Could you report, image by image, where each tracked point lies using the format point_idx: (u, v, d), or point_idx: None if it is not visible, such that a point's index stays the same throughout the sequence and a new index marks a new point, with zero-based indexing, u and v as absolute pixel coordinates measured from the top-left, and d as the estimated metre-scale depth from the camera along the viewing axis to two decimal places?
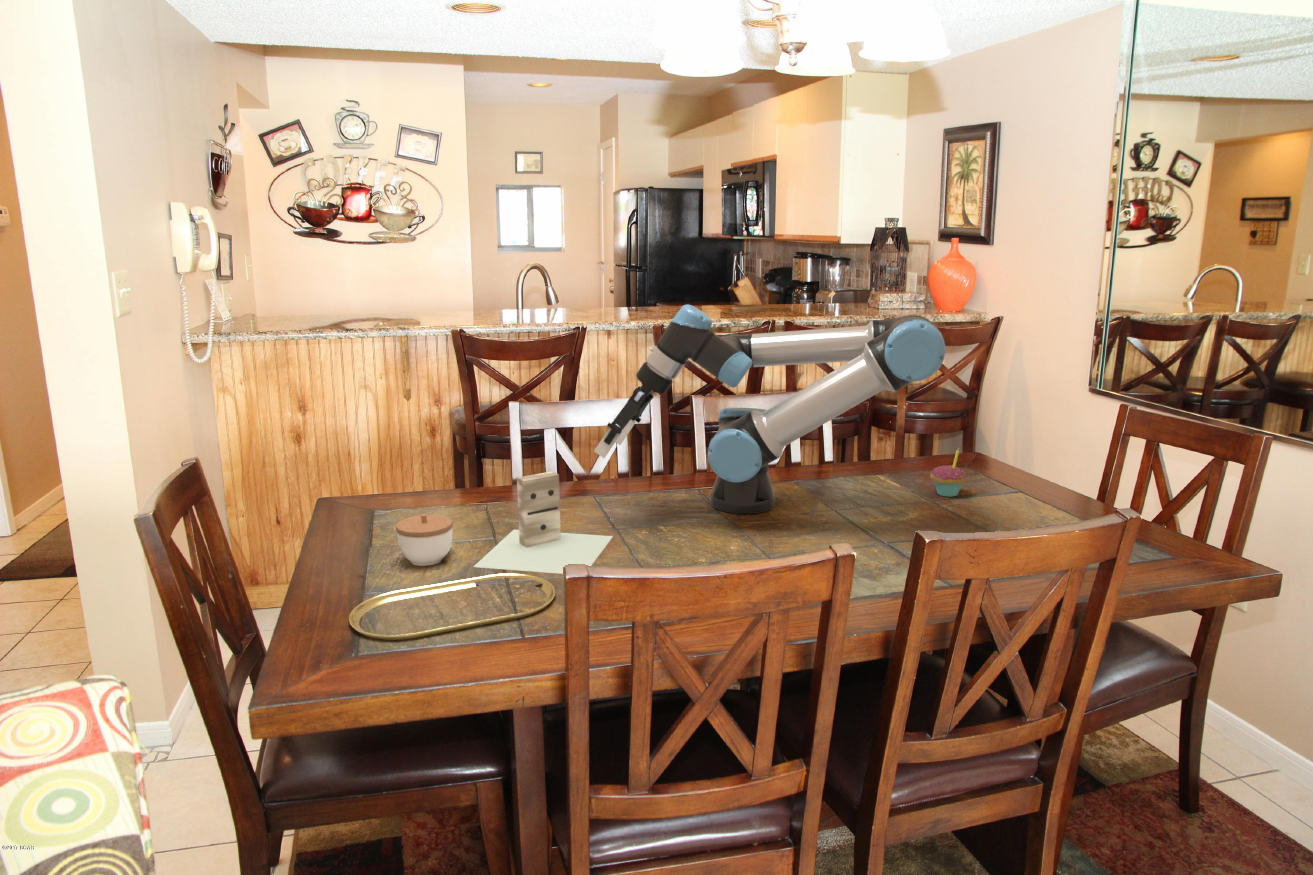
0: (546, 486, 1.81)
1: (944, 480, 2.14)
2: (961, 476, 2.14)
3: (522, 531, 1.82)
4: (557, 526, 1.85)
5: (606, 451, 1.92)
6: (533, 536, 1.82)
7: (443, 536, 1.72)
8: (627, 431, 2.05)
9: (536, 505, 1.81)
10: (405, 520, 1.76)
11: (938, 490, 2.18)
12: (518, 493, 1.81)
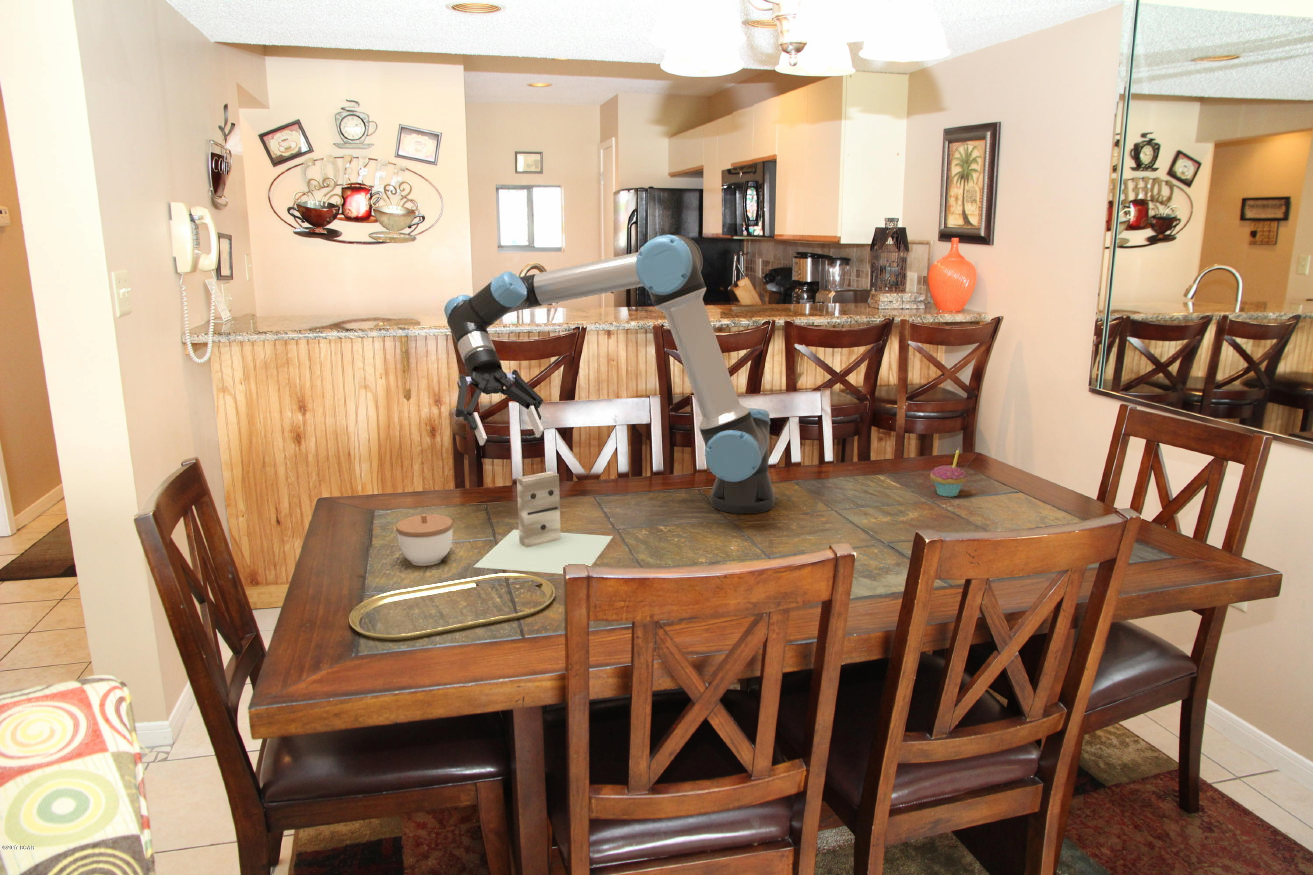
0: (546, 486, 1.81)
1: (944, 480, 2.14)
2: (961, 475, 2.14)
3: (522, 531, 1.82)
4: (557, 526, 1.85)
5: (480, 432, 1.85)
6: (533, 536, 1.82)
7: (443, 536, 1.72)
8: (534, 416, 1.94)
9: (536, 505, 1.81)
10: (405, 520, 1.76)
11: (938, 490, 2.18)
12: (518, 493, 1.81)
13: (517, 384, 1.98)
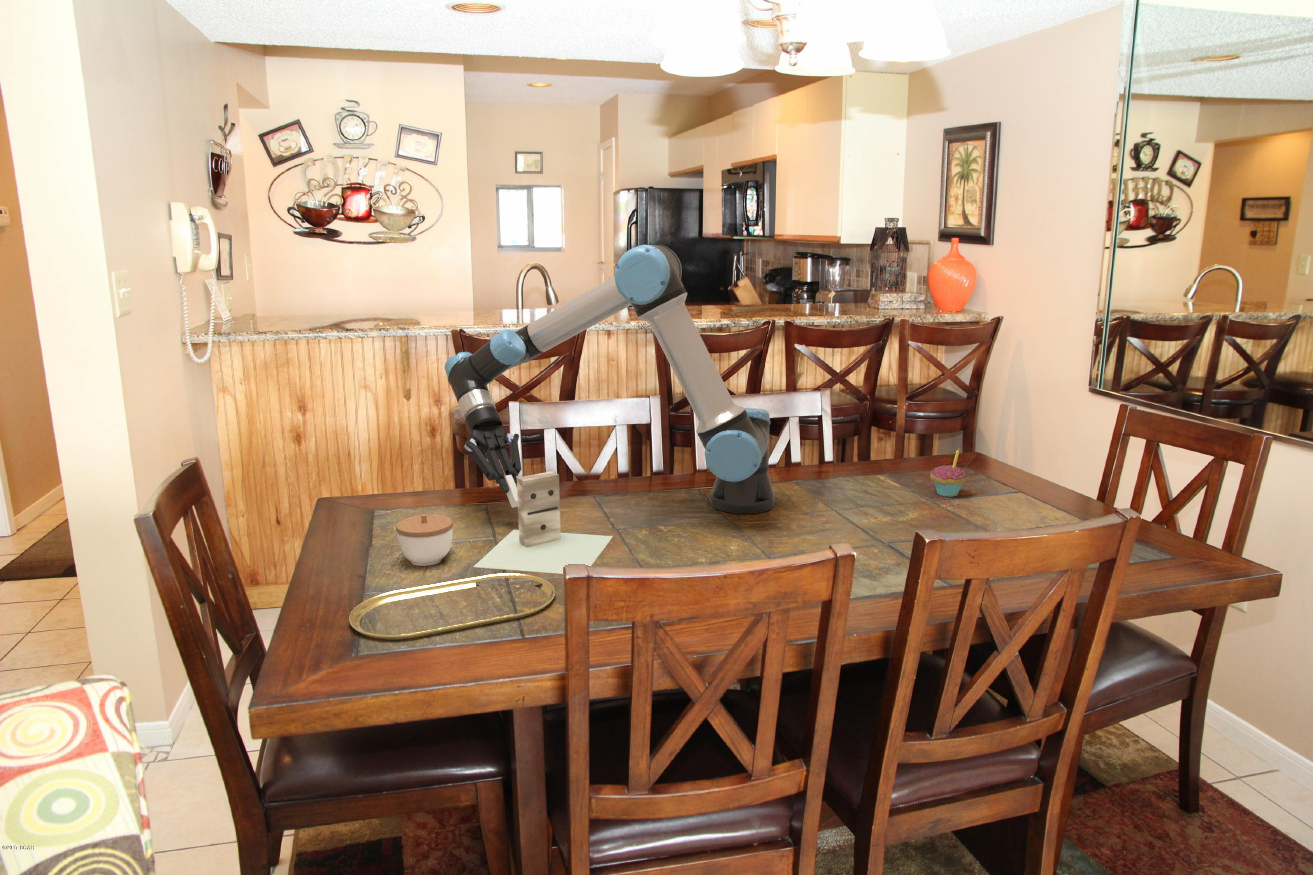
0: (546, 486, 1.81)
1: (944, 480, 2.14)
2: (961, 476, 2.14)
3: (522, 531, 1.82)
4: (557, 526, 1.85)
5: (512, 495, 1.91)
6: (533, 536, 1.82)
7: (443, 536, 1.72)
8: (512, 486, 1.92)
9: (536, 505, 1.81)
10: (405, 520, 1.76)
11: (938, 490, 2.18)
12: (518, 493, 1.81)
13: (511, 446, 1.99)
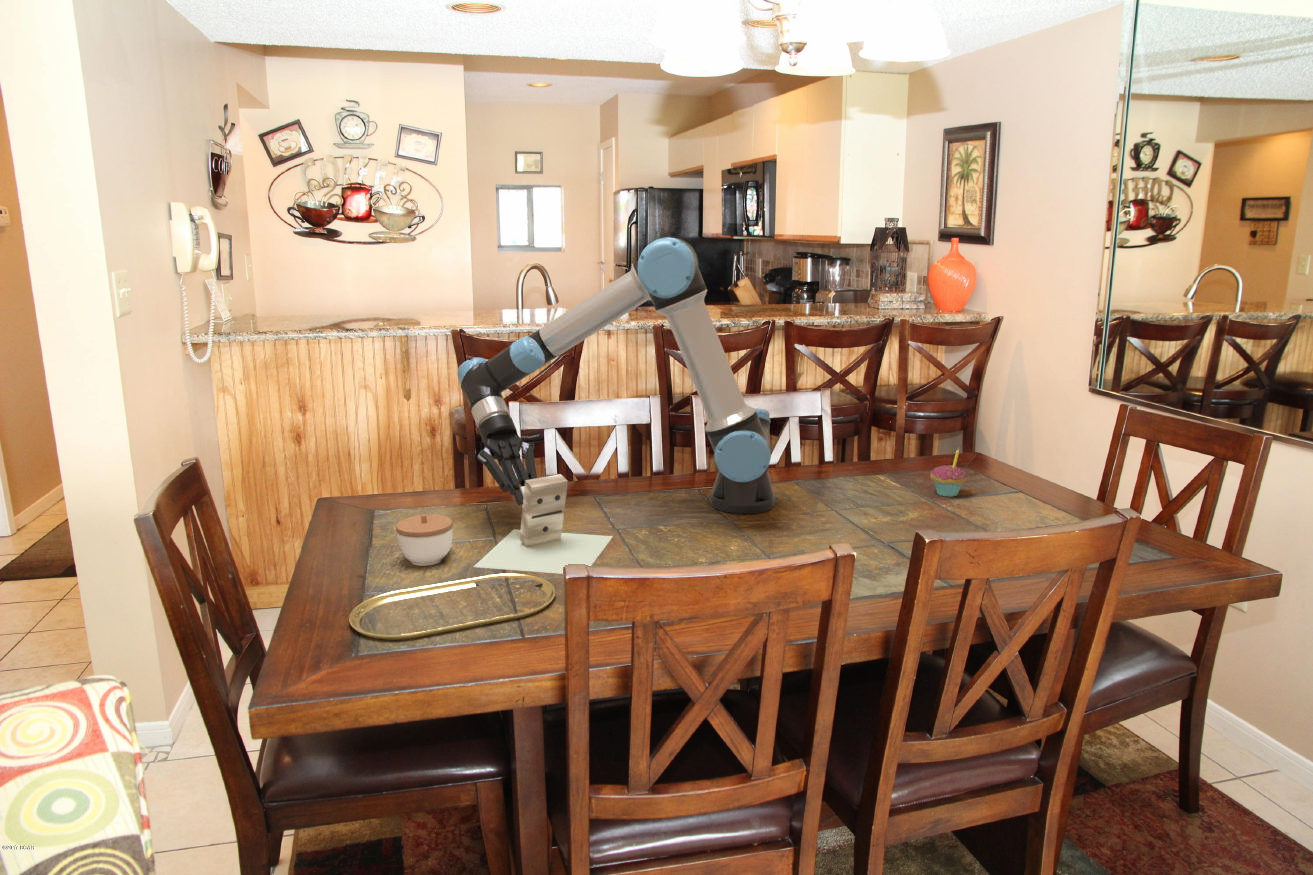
0: (554, 492, 1.79)
1: (944, 480, 2.14)
2: (961, 475, 2.14)
3: (524, 531, 1.81)
4: (559, 527, 1.84)
5: None
6: (534, 537, 1.82)
7: (443, 536, 1.72)
8: None
9: (541, 509, 1.79)
10: (405, 520, 1.76)
11: (938, 490, 2.18)
12: (525, 495, 1.79)
13: (526, 455, 1.92)
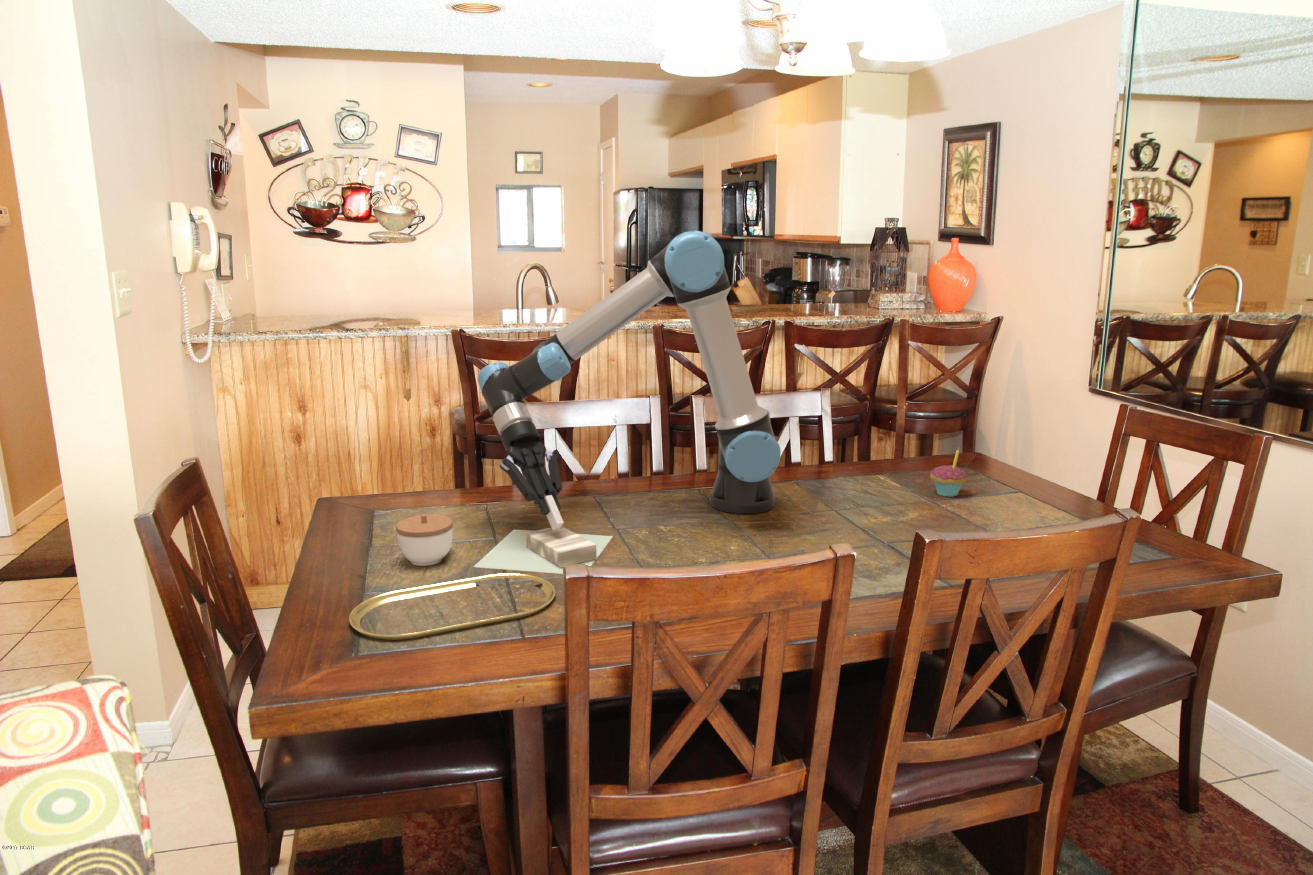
0: None
1: (944, 480, 2.14)
2: (961, 475, 2.14)
3: (533, 544, 1.79)
4: None
5: (553, 518, 1.77)
6: None
7: (443, 536, 1.72)
8: (553, 507, 1.78)
9: None
10: (404, 520, 1.76)
11: (938, 490, 2.18)
12: (552, 550, 1.72)
13: (550, 463, 1.85)
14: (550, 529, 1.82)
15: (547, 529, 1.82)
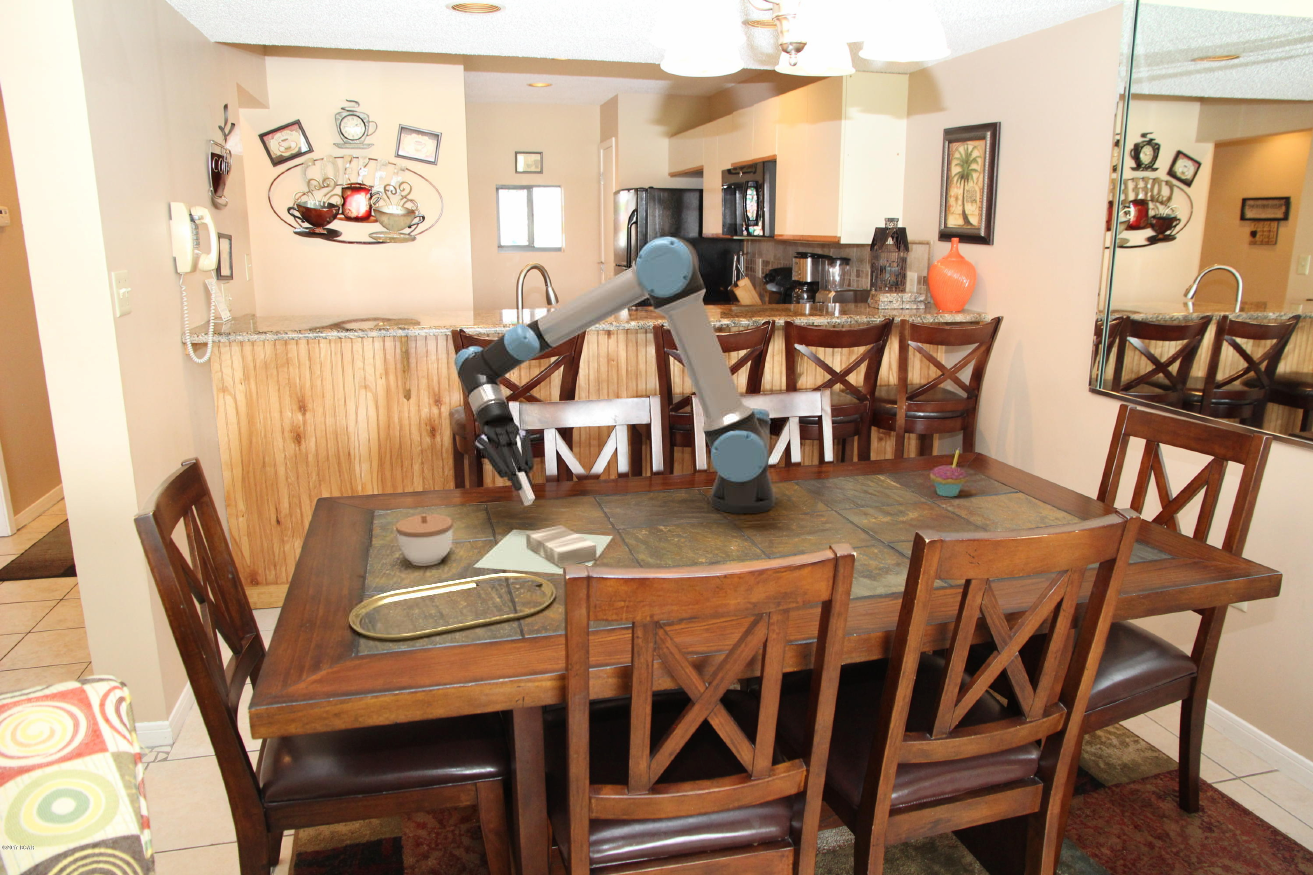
0: None
1: (944, 480, 2.14)
2: (961, 476, 2.14)
3: (533, 544, 1.79)
4: None
5: (525, 493, 1.86)
6: None
7: (443, 536, 1.72)
8: (525, 483, 1.87)
9: None
10: (405, 520, 1.76)
11: (938, 490, 2.18)
12: (552, 550, 1.72)
13: (523, 442, 1.94)
14: (550, 529, 1.82)
15: (547, 529, 1.82)
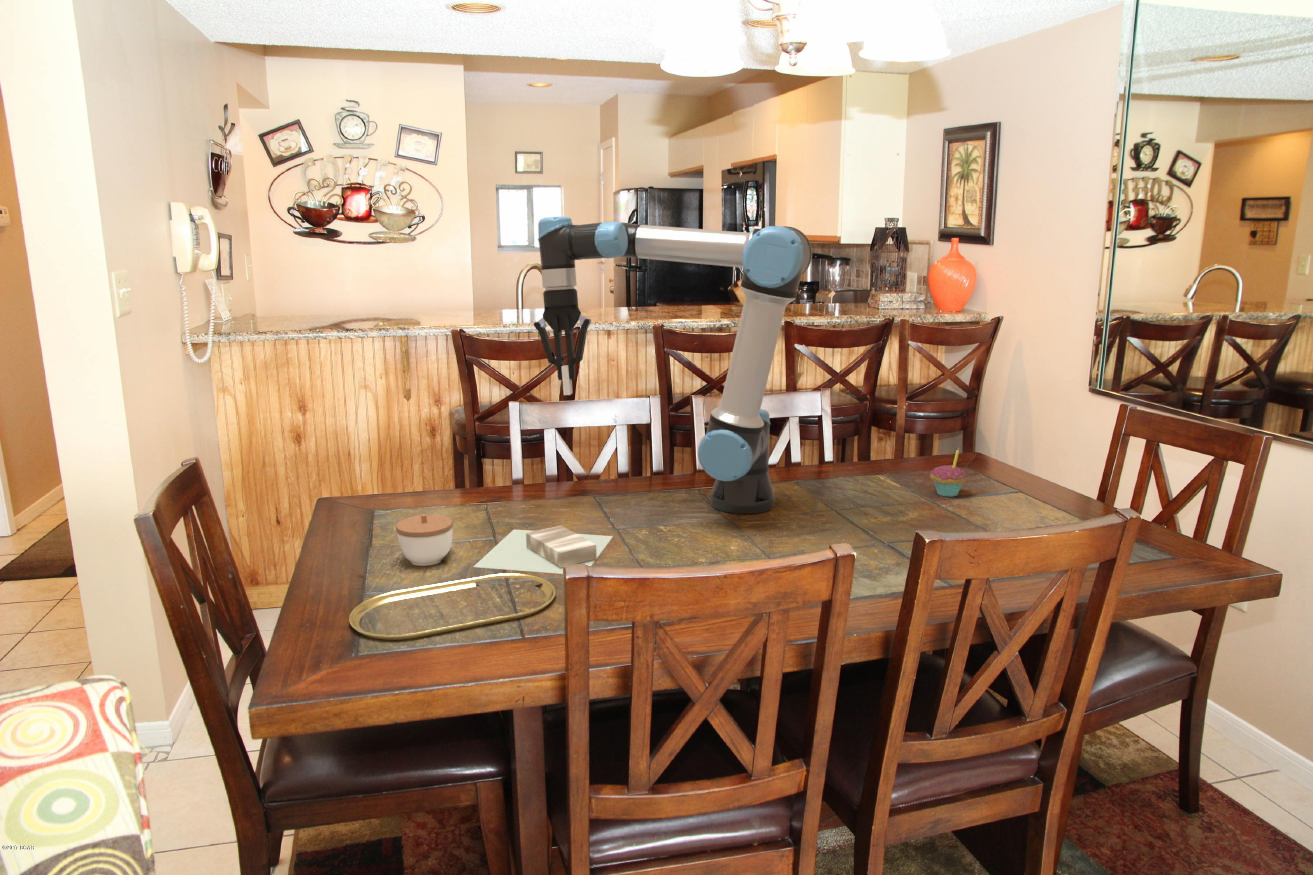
0: None
1: (944, 480, 2.14)
2: (961, 475, 2.14)
3: (533, 544, 1.79)
4: None
5: None
6: None
7: (443, 536, 1.72)
8: None
9: None
10: (405, 520, 1.76)
11: (938, 490, 2.18)
12: (552, 550, 1.72)
13: None
14: (550, 529, 1.82)
15: (547, 529, 1.82)
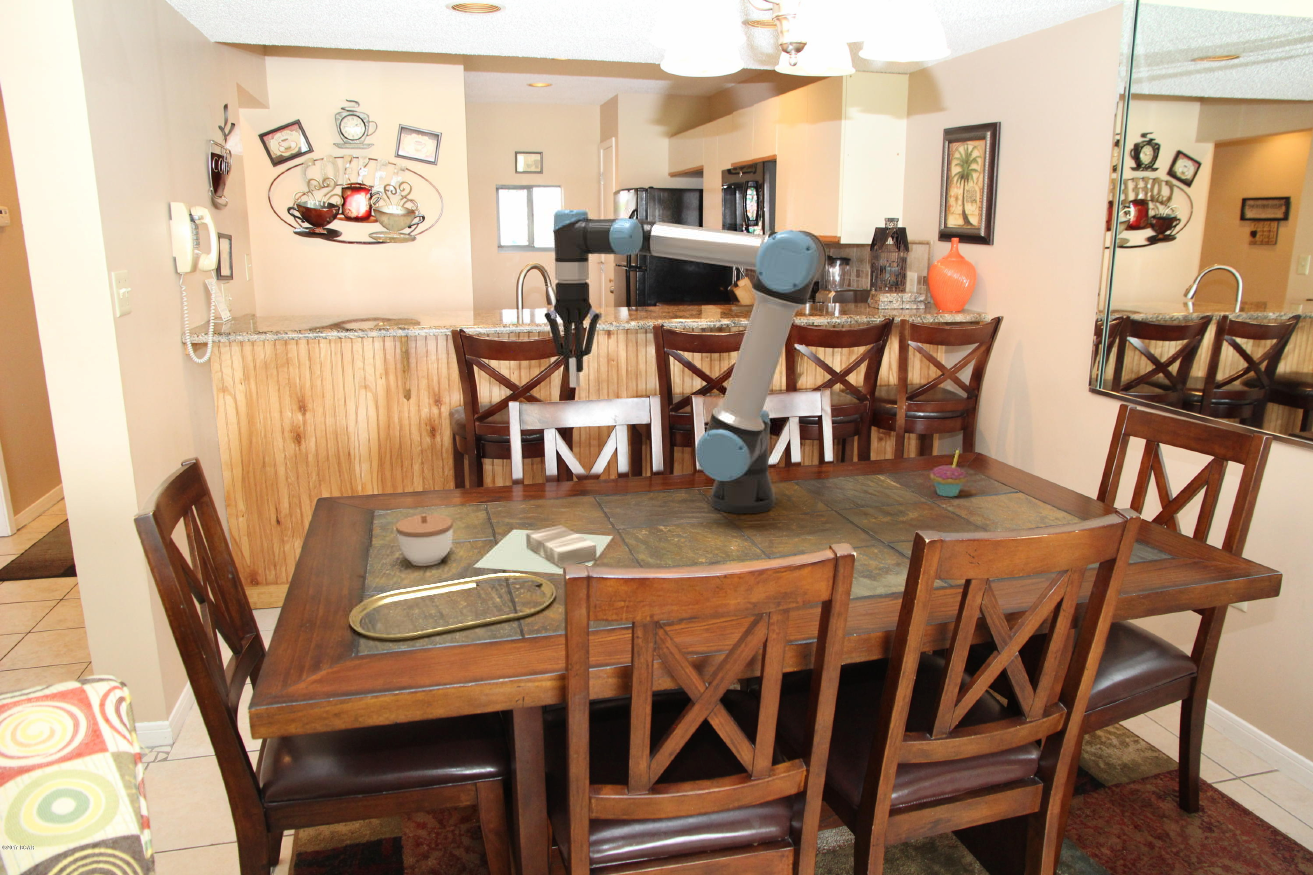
0: None
1: (944, 480, 2.14)
2: (961, 475, 2.14)
3: (533, 544, 1.79)
4: None
5: None
6: None
7: (443, 536, 1.72)
8: None
9: None
10: (405, 520, 1.76)
11: (938, 490, 2.18)
12: (552, 550, 1.72)
13: None
14: (550, 529, 1.82)
15: (547, 529, 1.82)
